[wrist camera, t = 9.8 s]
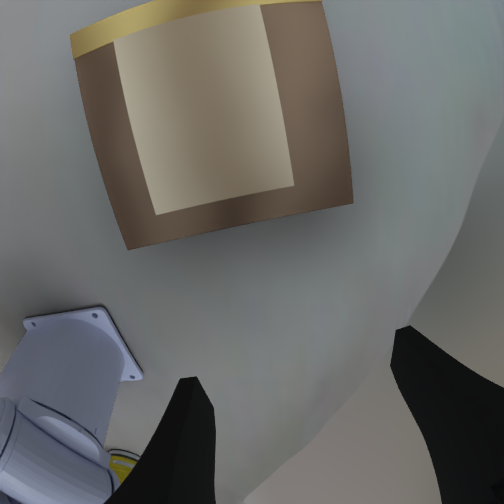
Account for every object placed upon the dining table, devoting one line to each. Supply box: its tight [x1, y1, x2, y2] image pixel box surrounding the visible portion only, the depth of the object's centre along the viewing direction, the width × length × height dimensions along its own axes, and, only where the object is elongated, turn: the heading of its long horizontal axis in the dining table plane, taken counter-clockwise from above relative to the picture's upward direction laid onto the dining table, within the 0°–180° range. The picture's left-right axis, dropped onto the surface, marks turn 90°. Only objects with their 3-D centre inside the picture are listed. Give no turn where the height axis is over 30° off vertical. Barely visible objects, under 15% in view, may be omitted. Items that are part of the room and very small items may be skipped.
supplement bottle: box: [108, 450, 140, 485], centre depth 28 cm, size 5×5×10 cm
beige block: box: [113, 4, 294, 215], centre depth 11 cm, size 5×6×6 cm
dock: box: [70, 0, 353, 250], centre depth 14 cm, size 13×13×2 cm
